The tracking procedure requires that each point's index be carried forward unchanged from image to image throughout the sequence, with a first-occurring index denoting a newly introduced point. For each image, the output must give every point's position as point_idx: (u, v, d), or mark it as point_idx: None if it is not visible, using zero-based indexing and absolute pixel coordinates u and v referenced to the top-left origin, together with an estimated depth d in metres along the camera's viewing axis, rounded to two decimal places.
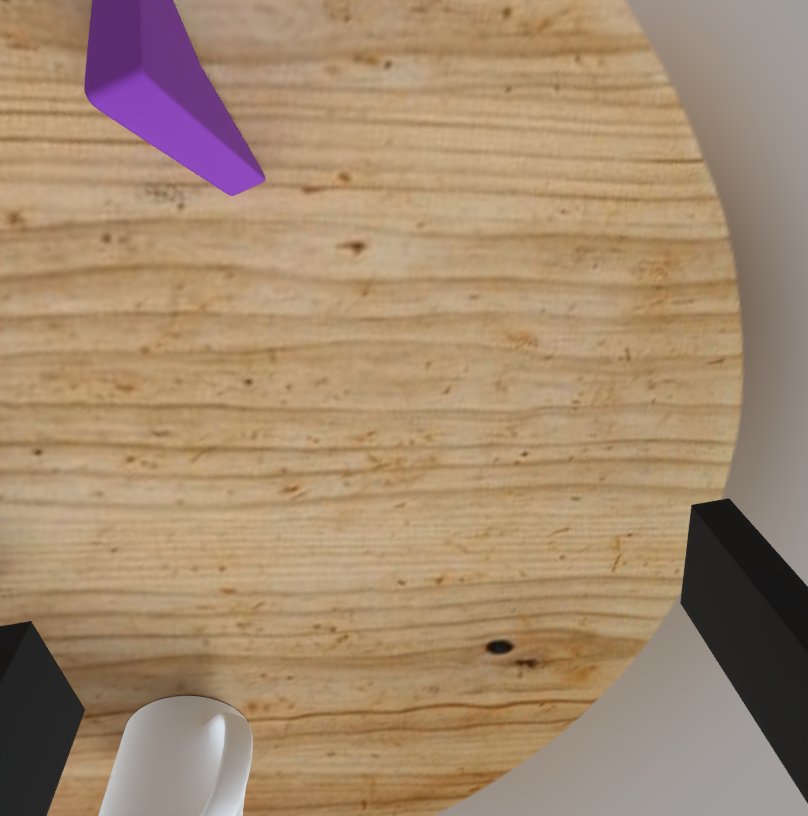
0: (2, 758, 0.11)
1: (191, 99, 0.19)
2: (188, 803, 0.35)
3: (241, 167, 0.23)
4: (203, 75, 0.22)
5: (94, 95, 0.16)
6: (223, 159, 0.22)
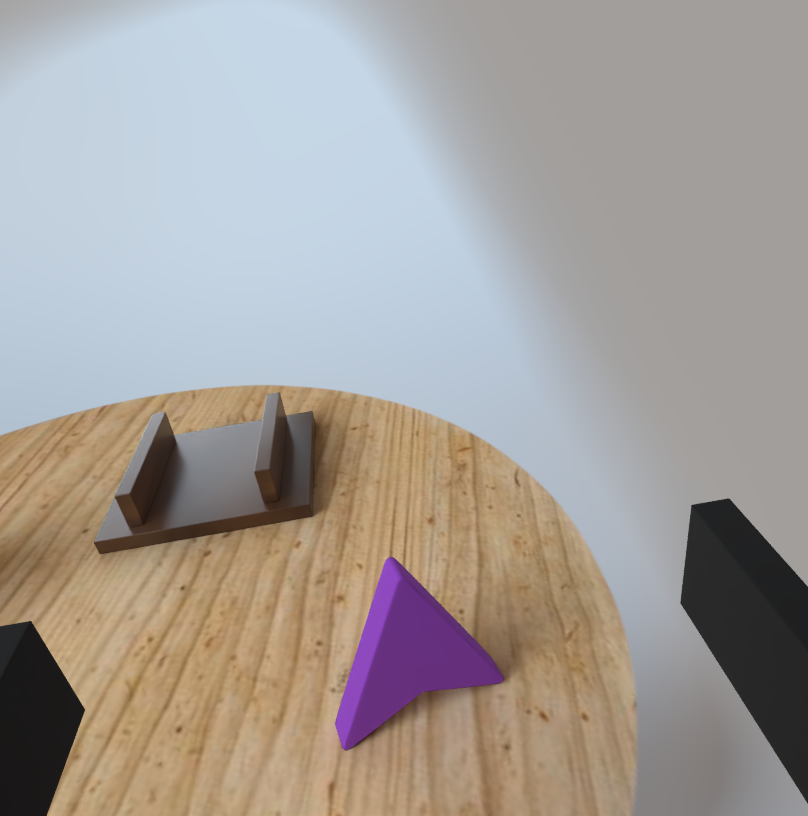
0: (2, 758, 0.11)
1: (393, 640, 0.30)
2: None
3: (353, 707, 0.31)
4: (415, 689, 0.32)
5: (390, 559, 0.29)
6: (358, 683, 0.31)
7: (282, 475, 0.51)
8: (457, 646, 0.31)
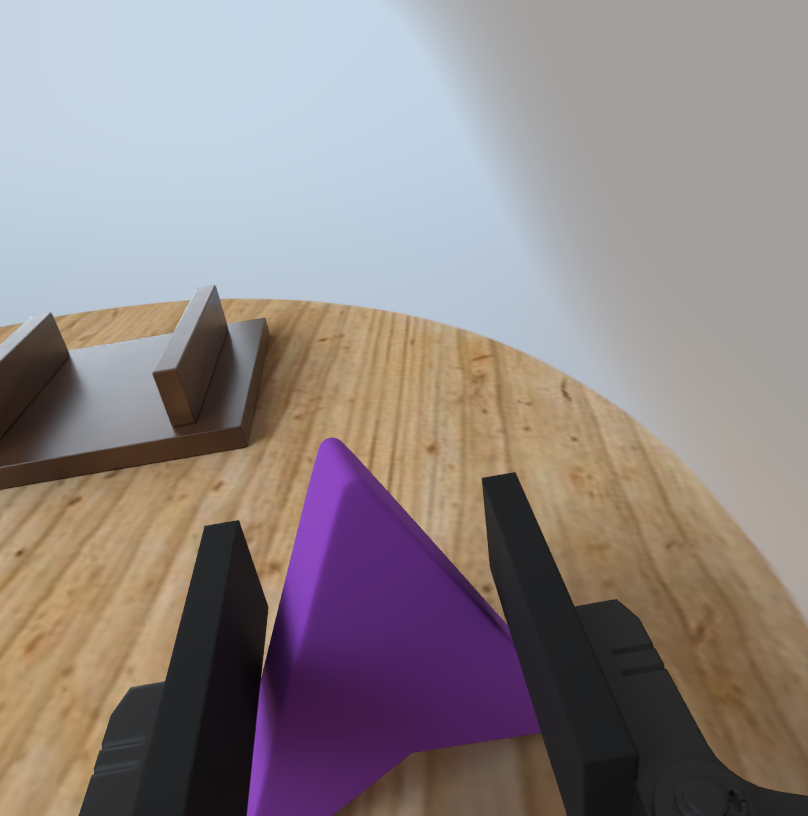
0: (237, 626, 0.13)
1: (339, 640, 0.12)
2: None
3: (254, 793, 0.14)
4: (395, 748, 0.14)
5: (329, 440, 0.12)
6: (264, 738, 0.13)
7: (208, 391, 0.34)
8: (489, 653, 0.14)
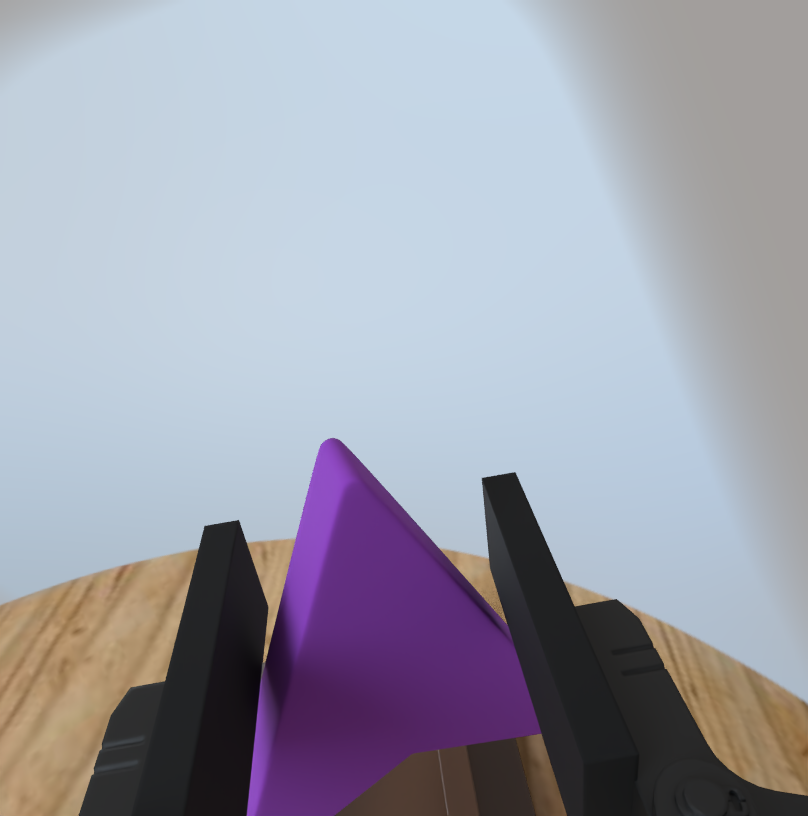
0: (237, 626, 0.13)
1: (339, 641, 0.12)
2: None
3: (254, 794, 0.14)
4: (396, 749, 0.14)
5: (330, 440, 0.12)
6: (264, 739, 0.13)
7: None
8: (490, 654, 0.14)
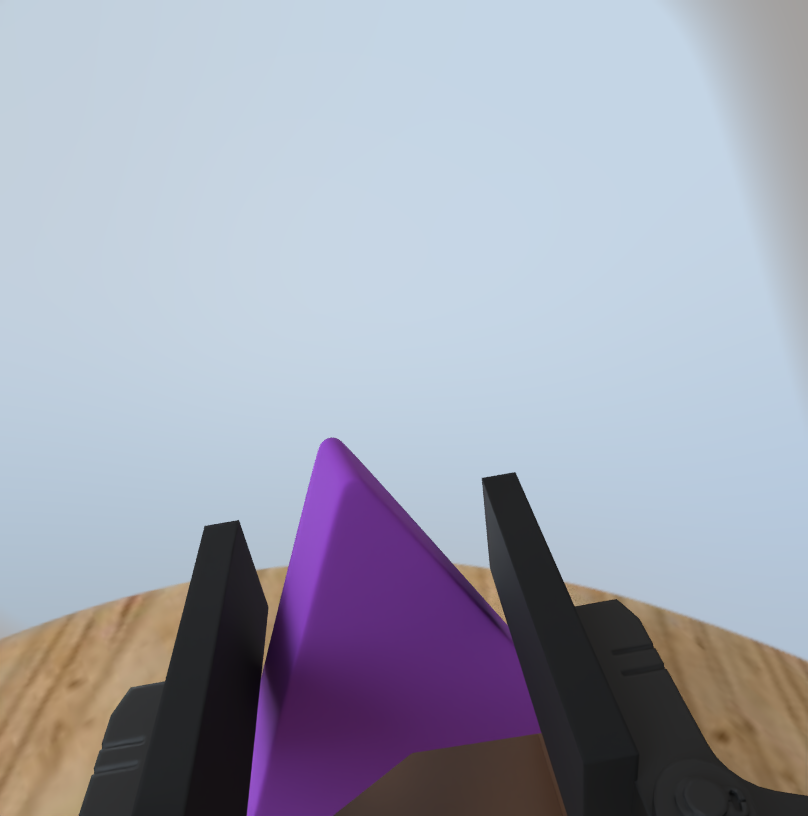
0: (237, 626, 0.13)
1: (339, 640, 0.12)
2: None
3: (254, 794, 0.14)
4: (395, 748, 0.14)
5: (330, 440, 0.12)
6: (264, 738, 0.13)
7: None
8: (490, 654, 0.14)
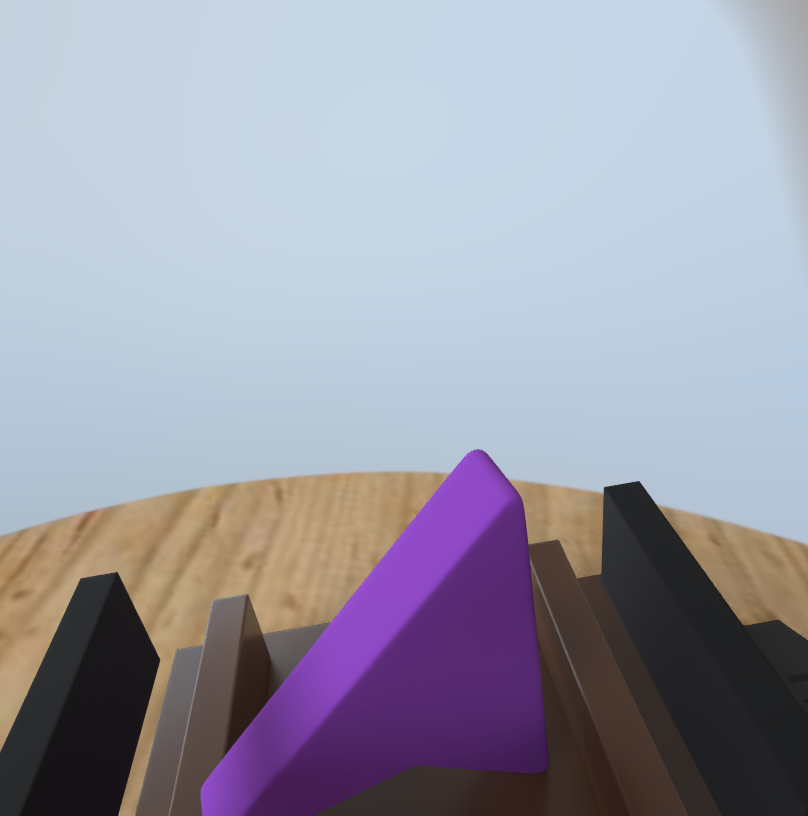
0: (101, 693, 0.12)
1: (424, 642, 0.12)
2: None
3: (267, 773, 0.13)
4: (406, 757, 0.14)
5: (482, 452, 0.12)
6: (299, 719, 0.13)
7: None
8: (521, 688, 0.15)
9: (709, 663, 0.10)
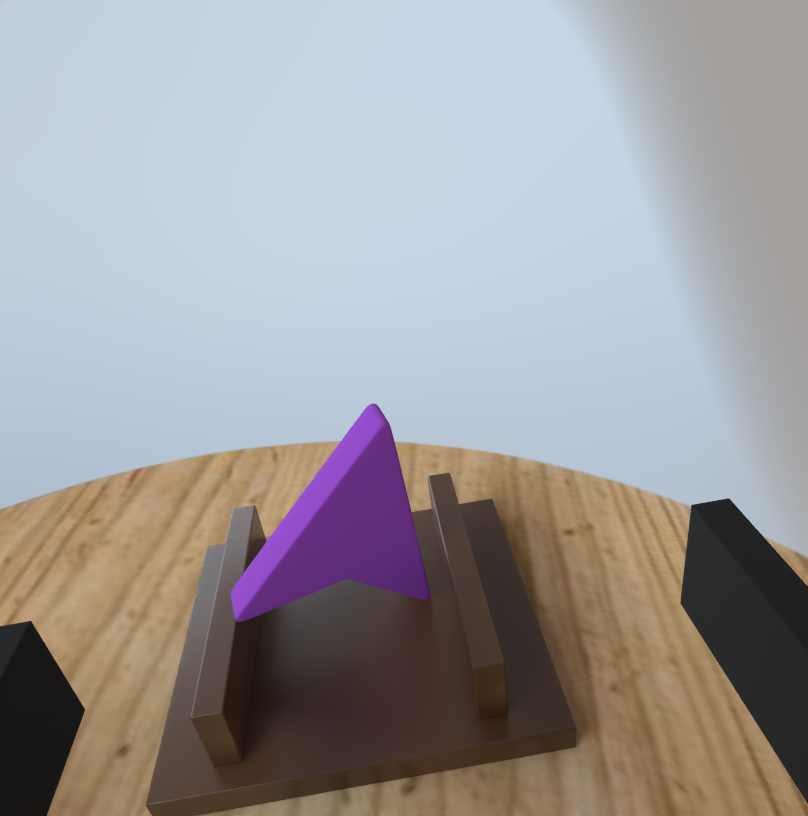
0: (2, 758, 0.11)
1: (346, 499, 0.25)
2: None
3: (267, 570, 0.26)
4: (341, 572, 0.27)
5: (374, 404, 0.25)
6: (284, 542, 0.26)
7: None
8: (404, 536, 0.27)
9: None
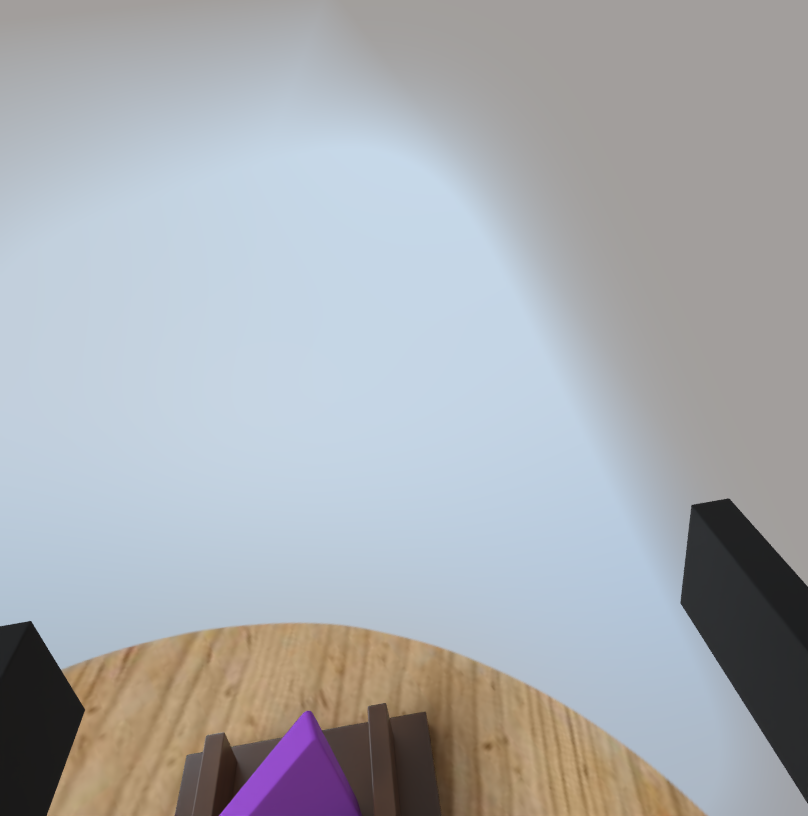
0: (2, 758, 0.11)
1: (287, 786, 0.32)
2: None
3: None
4: None
5: (308, 713, 0.32)
6: (239, 815, 0.32)
7: None
8: (338, 797, 0.34)
9: None
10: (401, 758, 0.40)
